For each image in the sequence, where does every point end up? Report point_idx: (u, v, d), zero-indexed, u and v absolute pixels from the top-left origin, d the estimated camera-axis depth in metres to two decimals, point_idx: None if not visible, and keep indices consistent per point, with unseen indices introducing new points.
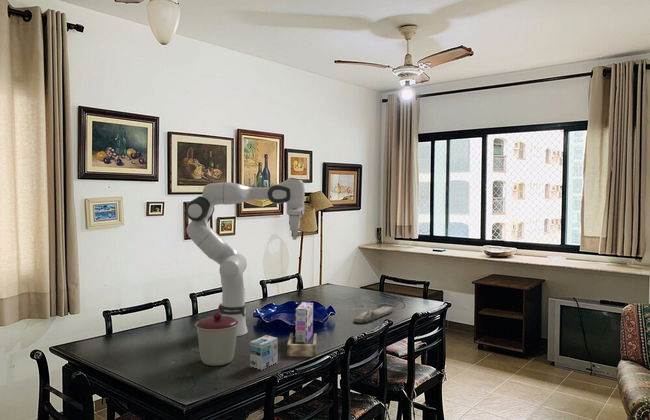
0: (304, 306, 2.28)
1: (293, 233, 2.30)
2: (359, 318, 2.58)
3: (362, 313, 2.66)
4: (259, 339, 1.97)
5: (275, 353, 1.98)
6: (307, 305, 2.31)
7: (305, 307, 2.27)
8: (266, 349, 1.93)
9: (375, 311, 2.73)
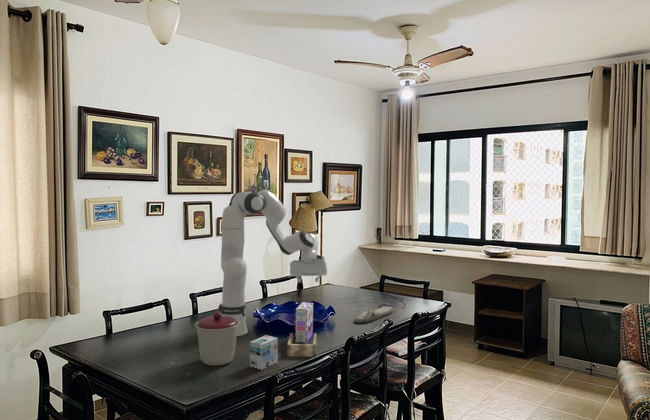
0: (304, 306, 2.28)
1: (319, 275, 2.55)
2: (359, 318, 2.58)
3: (362, 313, 2.66)
4: (259, 339, 1.97)
5: (275, 353, 1.98)
6: (307, 305, 2.31)
7: (305, 307, 2.27)
8: (266, 349, 1.93)
9: (375, 311, 2.72)
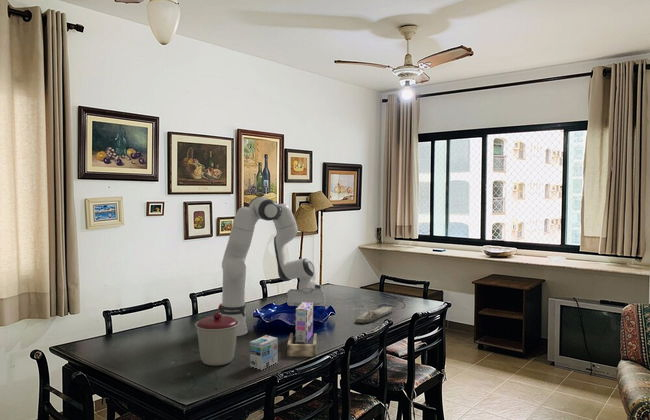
0: (304, 306, 2.28)
1: None
2: (361, 318, 2.57)
3: (363, 313, 2.66)
4: (259, 339, 1.97)
5: (275, 353, 1.98)
6: (307, 305, 2.31)
7: (305, 307, 2.27)
8: (266, 349, 1.93)
9: (376, 311, 2.72)
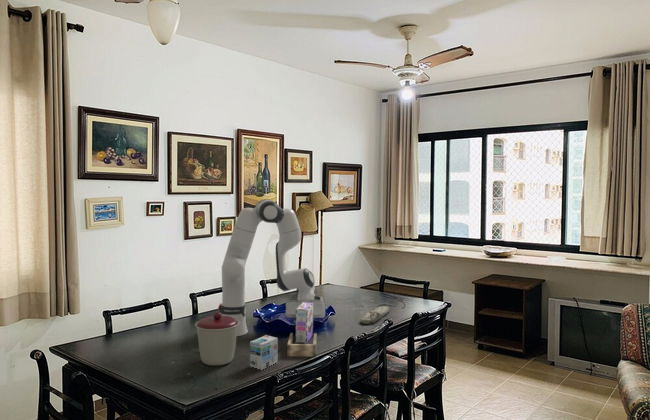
0: (304, 306, 2.28)
1: None
2: (366, 319, 2.56)
3: (366, 314, 2.65)
4: (259, 339, 1.97)
5: (275, 353, 1.98)
6: (307, 305, 2.30)
7: (305, 307, 2.26)
8: (266, 349, 1.93)
9: (376, 311, 2.72)
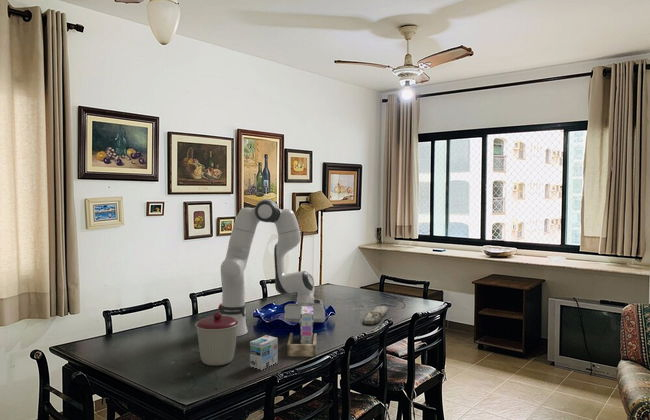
0: (307, 310, 2.21)
1: None
2: (370, 320, 2.55)
3: (367, 314, 2.64)
4: (259, 339, 1.97)
5: (275, 353, 1.98)
6: (309, 309, 2.23)
7: (309, 311, 2.19)
8: (266, 349, 1.93)
9: None
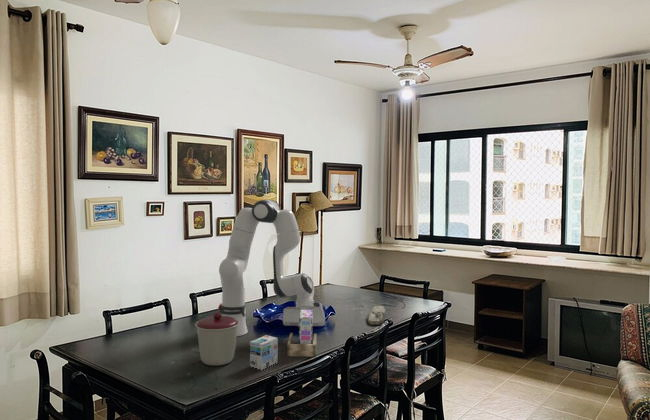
0: (307, 314, 2.15)
1: None
2: (376, 320, 2.54)
3: (370, 315, 2.63)
4: (259, 339, 1.97)
5: (275, 353, 1.98)
6: (309, 313, 2.17)
7: (308, 315, 2.13)
8: (266, 349, 1.93)
9: (376, 311, 2.72)
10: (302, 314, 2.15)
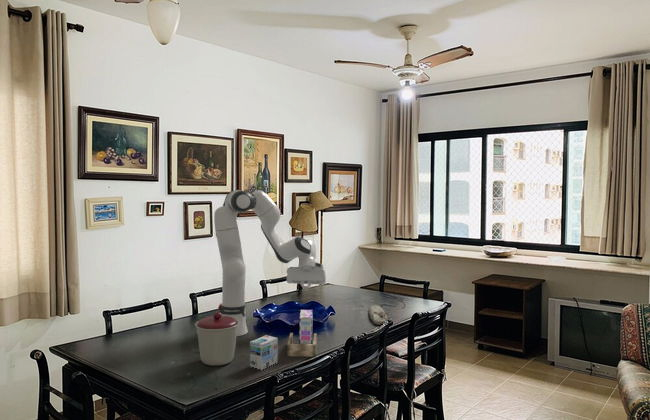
0: (307, 314, 2.15)
1: (310, 284, 2.43)
2: (382, 320, 2.54)
3: (374, 315, 2.62)
4: (259, 339, 1.97)
5: (275, 353, 1.98)
6: (309, 313, 2.17)
7: (308, 315, 2.13)
8: (266, 349, 1.93)
9: None
10: (302, 314, 2.15)
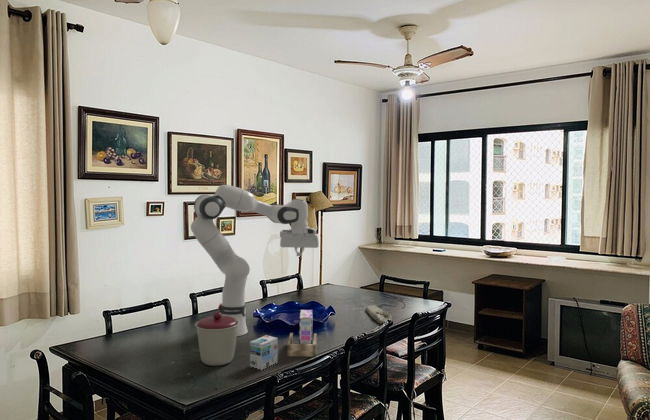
0: (307, 314, 2.15)
1: (303, 250, 2.51)
2: None
3: (378, 315, 2.62)
4: (259, 339, 1.97)
5: (275, 353, 1.98)
6: (309, 313, 2.17)
7: (308, 315, 2.13)
8: (266, 349, 1.93)
9: (377, 311, 2.72)
10: (302, 314, 2.15)
